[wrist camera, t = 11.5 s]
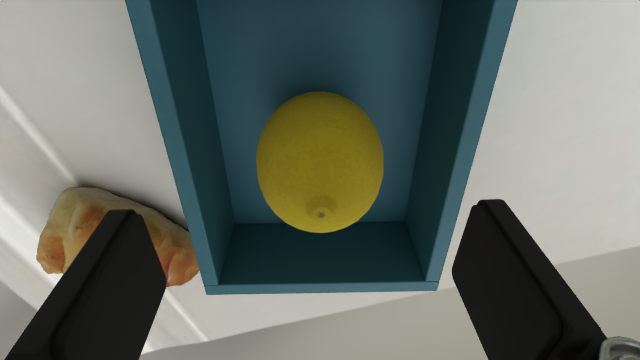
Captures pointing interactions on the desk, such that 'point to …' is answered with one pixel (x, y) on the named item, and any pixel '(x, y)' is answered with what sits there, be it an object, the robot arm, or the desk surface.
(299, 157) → the lemon
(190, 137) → the teal open bin
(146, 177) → the desk surface
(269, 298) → the desk surface
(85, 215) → the pastry
